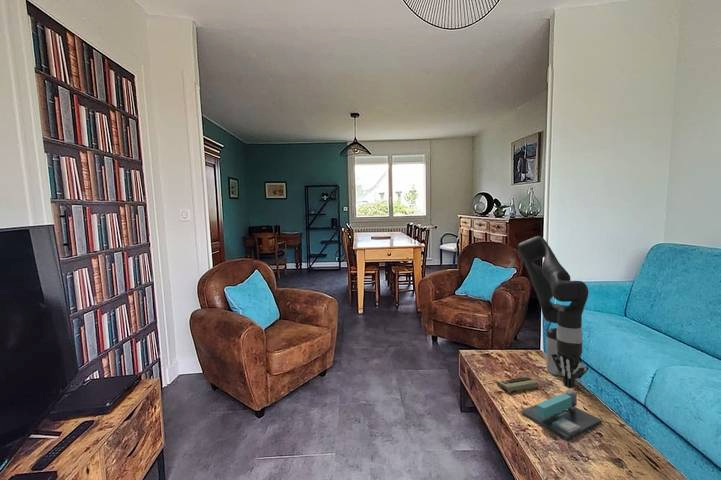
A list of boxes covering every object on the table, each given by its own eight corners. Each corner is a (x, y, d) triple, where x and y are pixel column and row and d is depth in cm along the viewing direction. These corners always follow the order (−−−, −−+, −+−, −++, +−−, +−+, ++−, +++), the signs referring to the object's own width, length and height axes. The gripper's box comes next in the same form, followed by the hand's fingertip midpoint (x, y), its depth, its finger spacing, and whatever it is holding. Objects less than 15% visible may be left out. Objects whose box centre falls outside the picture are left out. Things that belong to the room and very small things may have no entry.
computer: (525, 380, 157) (525, 373, 156) (538, 388, 149) (538, 381, 149) (496, 385, 153) (496, 378, 153) (508, 394, 145) (507, 387, 145)
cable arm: (569, 400, 133) (569, 389, 133) (578, 404, 130) (578, 393, 130) (535, 414, 125) (535, 403, 124) (544, 419, 121) (544, 407, 121)
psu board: (554, 399, 139) (554, 393, 139) (601, 423, 123) (601, 416, 123) (521, 413, 130) (521, 407, 130) (567, 440, 114) (567, 433, 114)
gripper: (544, 333, 121) (544, 380, 122) (578, 346, 108) (577, 398, 109) (561, 330, 123) (561, 376, 124) (596, 343, 110) (595, 394, 111)
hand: (568, 386), depth 117 cm, fingers closed
